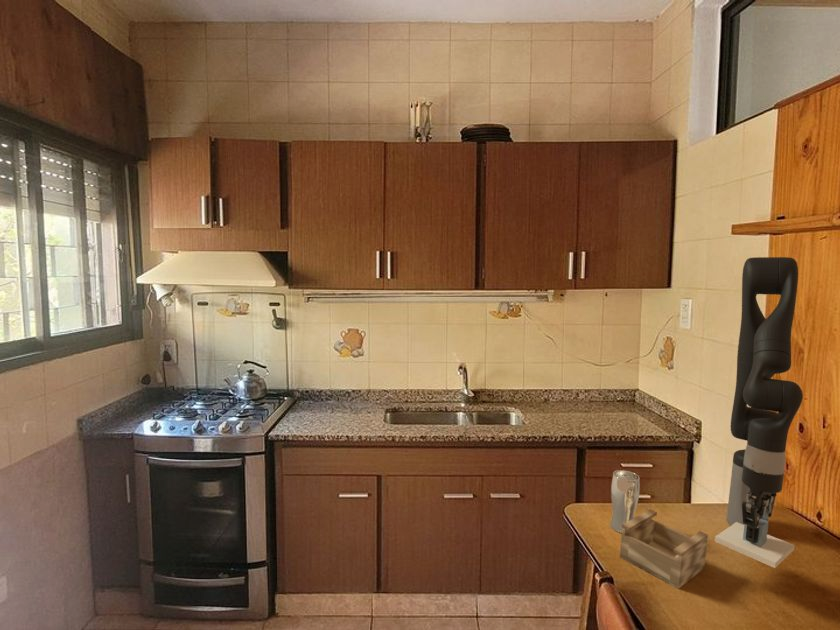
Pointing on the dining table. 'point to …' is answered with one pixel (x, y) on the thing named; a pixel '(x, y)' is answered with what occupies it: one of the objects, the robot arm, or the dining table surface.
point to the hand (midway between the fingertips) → (754, 538)
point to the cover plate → (755, 544)
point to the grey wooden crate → (662, 549)
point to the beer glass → (624, 497)
